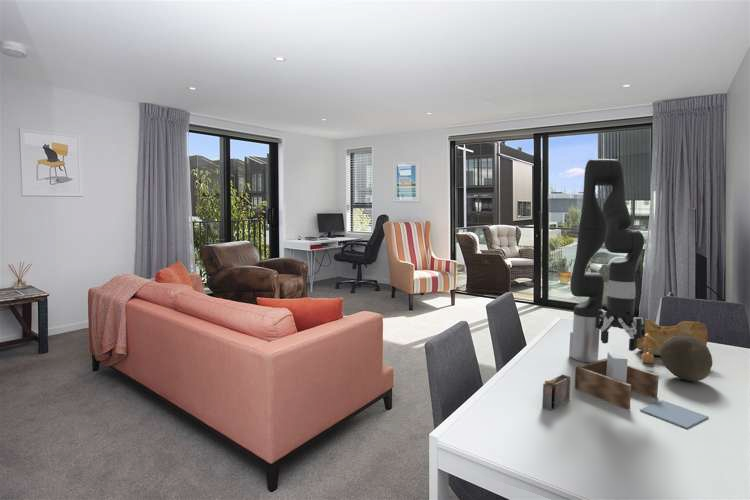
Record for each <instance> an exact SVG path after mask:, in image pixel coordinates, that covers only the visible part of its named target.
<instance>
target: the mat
mask: <svg viewBox="0 0 750 500" xmlns="http://www.w3.org/2000/svg"><path fill="white" fill-rule="evenodd" d="M639 411H640V412H642V413H645V414H647V415H650V416H653V417H655V418H658V419H660V420H663V421H665V422H668V423H671V424H673V425H676V426H679V427H680V428H684V429H686V430H688V429H690V428H691V427H694V426H695V425H698V424H699V423H701V422H703V421H705V420H708V419H709V418H710V417H709V415H707V414H706V415H705V414H702V413H700V412H697V411H694V410H692V409H688V408H686V407H682V406H680V405H677V404H675V403H671V402H668V401H666V400H663V399H662V400H659V401H658V402H655V403H652V404H649V405H648V406H645V407H643V408H641V409H640V410H639Z"/></svg>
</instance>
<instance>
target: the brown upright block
mask: <svg viewBox="0 0 750 500" xmlns="http://www.w3.org/2000/svg"><path fill="white" fill-rule="evenodd" d="M571 379H572V377H571V376H569V375H567V374H563V373H562V374H560V375H558V376H556V377H554V378H552V379H550V380H545V381H544V383H543V384H542V402H541V403H542V405H541V406H542V407H541V408H542V409H544V410H547V411H549V412H552V406H553V409H557V408H558V407H560V406H561V405H563V404H565V403H567V402H568V401H570V400H571V399H570V398H571V382H572V381H571ZM552 404H553V405H552Z"/></svg>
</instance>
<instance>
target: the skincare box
mask: <svg viewBox="0 0 750 500" xmlns="http://www.w3.org/2000/svg"><path fill="white" fill-rule="evenodd" d="M606 356H607V358H606V359H607V369H606V376H607V377H610V378H613V379H616V380H619V381H622V382H625V383H626V377H627V365H628V361H629V360H628V358H627V357H626V356H625V355H624V354H622V352H621V353H620V352H610V351H609V352H608V351H607V355H606Z"/></svg>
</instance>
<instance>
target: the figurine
mask: <svg viewBox="0 0 750 500" xmlns="http://www.w3.org/2000/svg"><path fill="white" fill-rule="evenodd" d="M643 339H644V341H645V342H643V345H644V346H645V347H644V352H645V353H644V352H642V354H641V357H640V358H641V361H642V362H643V363H645V364H651V363H653V362H654V359H655V357H654V356H655V355H652V354H651V353H650V350H651V348H652V346H651V343H649V341H650V339H651V340H653V341H655V342H656V343H657V341H656V340H654V339H653V338H651V337H650V336H649V333H646V334H645V337H643ZM647 345H648V347H650V348H649V353H648V352H646V346H647ZM657 345H659V344H658V343H657ZM659 347H660V345H659Z"/></svg>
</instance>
